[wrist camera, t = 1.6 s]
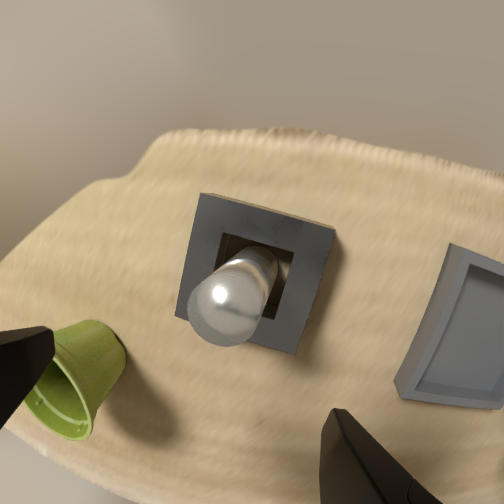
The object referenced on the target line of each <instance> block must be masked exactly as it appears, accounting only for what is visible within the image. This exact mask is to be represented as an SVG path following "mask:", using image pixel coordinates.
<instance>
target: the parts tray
mask: <svg viewBox="0 0 504 504" xmlns="http://www.w3.org/2000/svg"><path fill="white" fill-rule="evenodd" d="M394 383H395V385H396V388H397V390H398V393H399V395H400V398H405V399H411V400H418V401H424V402H431V403H438V404H446V405H454V406H463V407H473V408H484V409H498V410H500V409H501V408H502V406H503V405H504V264H502V263H500V262H497V261H495V260H492V259H490V258H488V257H485V256H483V255H480V254H478V253H475V252H473V251H470V250H468V249H465V248H462V247H460V246H457V245H454V244H451V243H449V247H448V250H447V253H446V256H445V259H444V263H443V266H442V269H441V271H440V274H439V277H438V280H437V283H436V286H435V288H434V291H433V294H432V296H431V299H430V302H429V304H428V307H427V309H426V312H425V314H424V317H423V319H422V321H421V324H420V326H419V328H418V331H417V333H416V335H415V337H414V340H413V342H412V344H411V346H410V348H409V351H408V353H407V355H406V357H405V359H404V361H403V363H402V365H401V367H400V369H399V371H398V373H397V375H396V377H395V379H394Z"/></svg>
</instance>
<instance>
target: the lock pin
mask: <svg viewBox="0 0 504 504" xmlns="http://www.w3.org/2000/svg"><path fill="white" fill-rule="evenodd" d="M277 274H278V264H277V260H276V258H275V257H274V255H273V254H272V253H271V252H270V251H269V250H267V249H266V248H264V247H261V246H249V247H246V248H244V249H242V250H241V251H240V252H239V253H237V254H236V255H235V256H234V257H232V258H231V259H230V260H229V261H227V262H226V263H225V264H224V265H222V266H221V267H220V268H219V269H218V270H216V271H215V272H214V273H213V274H211V275H210V276H209V277H208V278H206V279H205V280H204V281H203V282H201V283H200V284H199V285H198V286H197V287H196V288H195V289H194V290H193V291H192V293H191V295H190V297H189V300H188V305H187V312H188V317H189V321H190V323H191V325H192V327H193V329H194V330H195V331H196V332H197V334H198V335H199V336H200V337H202V338H203V339H204V340H206V341H208V342H209V343H212V344H214V345H218V346H223V347H229V346H236V345H239V344H241V343H243V342H245V341H246V340H248V339H249V338H250V337H251V336H252V334H253V333H254V331H255V329H256V327H257V325H258V322H259V320H260V317H261V315H262V312H263V310H264V307H265V305H266V302H267V300H268V297H269V295H270V292H271V290H272V287H273V285H274V282H275V280H276V277H277Z"/></svg>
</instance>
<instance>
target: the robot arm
mask: <svg viewBox="0 0 504 504" xmlns="http://www.w3.org/2000/svg"><path fill="white" fill-rule="evenodd" d="M54 356H55V341H54V333H53V331H52V330H51V329H49V328H47V327H45V326H37V327H30V328H23V329H16V330H9V331H1V332H0V430H1V428H2V427H3V426H4V424H5V423H6V422H7V420H8V419H9V418H10V417H11V415H12V414H13V413H14V411H15V410H16V409H17V408H18V406H19V405H20V404H21V403H22V401H23V400H24V399H25V398H26V396H27V395H28V394H29V393H30V392H31V390H32V389H33V388H34V386H35V385H36V383H37V382H38V380H39V379H40V377H41V376H42V374H43V373H44V371H45V370H46V368H47V367H48V365H49V364H50V362H51V361H52V359H53V358H54ZM319 483H320V499H321V504H443V503H442V502H440V501H439V500H438V499H437V498H435V497H434V496H433V495H432V494H431V493H429V492H428V491H427V490H426V489H425V488H424V487H423V486H422V485H421V484H420V483H419V482H418V481H417V480H416V479H413V477H412V476H411V475H410V474H409V473H408V472H407V471H406V470H405V469H404V468H403V467H402V466H401V465H400V464H399V463H398V462H397V461H396V460H395V459H394V458H393V457H392V456H391V455H390V454H389V453H388V452H387V451H386V450H385V449H384V448H383V447H382V446H381V445H380V444H379V443H378V442H377V441H376V440H375V439H374V438H373V437H372V436H371V435H370V434H369V433H368V432H367V431H366V430H365V429H364V428H363V427H362V425H361V424H360V423H359V422H358V421H357V420H356V419H355V418H354V417H353V416H352V415H351V414H350V413H349V412H348V411H347V410H345V409H338V408H334V409H332V410H331V411H330V413H329V416H328V418H327V420H326V422H325V424H324V426H323V429H322V433H321V452H320V468H319Z"/></svg>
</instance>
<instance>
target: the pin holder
mask: <svg viewBox="0 0 504 504" xmlns="http://www.w3.org/2000/svg"><path fill="white" fill-rule="evenodd" d="M335 231H336V230H335V229H334V228H333V227H332V226H329V225H326V224H323V223H319V222H316V221H312V220H309V219H306V218H302V217H299V216H295V215H292V214H288V213H285V212H281V211H277V210H274V209H270V208H267V207H263V206H259V205H255V204H252V203H248V202H244V201H240V200H237V199H233V198H229V197H225V196H221V195H217V194H213V193H200V197H199V201H198V206H197V210H196V214H195V218H194V223H193V227H192V232H191V236H190V241H189V246H188V250H187V255H186V260H185V265H184V269H183V274H182V279H181V284H180V290H179V295H178V300H177V306H176V311H175V316H176V317H179V318H182V319H184V320H187V321H189V317H188V312H187V305H188V300H189V297H190V295H191V293H192V291H193V290H194V289H195V288H196V287H197V286H198V285H199V284H200V283H201V282H203V281H204V280H205V279H206V278H208V277H209V276H210V275H211V274H213V273H214V272H215V271H216V270H218V269H219V268H220V267H221V266H222V265H223V263H224V259H225V255H226V251H227V247H228V242H229V238H230V234H232V235H236V236H239V237H243V238H246V239H250V240H253V241H256V242H260V243H263V244H267V245H270V246H274V247H277V248H281V249H284V250H288V251H291V252H294V255H293V259H292V262H291V266H290V269H289V272H288V276H287V279H286V282H285V286H284V289H283V292H282V295H281V299H280V302H279V305H278V307H275V306H272V305H268V304H266V305H265V307H264V310H263V312H262V315H261V317H260V320H259V322H258V325H257V327H256V329H255V331H254V333H253V334H252V336H251V337H250V338H249V339H248V340H247V341H250V342H253V343H256V344H260V345H263V346H266V347H270V348H273V349H277V350H280V351H283V352H287V353H291V354H294V355H295V352H296V349H297V346H298V344H299V341H300V338H301V335H302V333H303V330H304V327H305V324H306V321H307V319H308V316H309V313H310V310H311V307H312V304H313V301H314V298H315V295H316V292H317V289H318V286H319V283H320V280H321V277H322V274H323V270H324V267H325V264H326V261H327V258H328V254H329V251H330V248H331V245H332V241H333V238H334V235H335Z"/></svg>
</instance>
